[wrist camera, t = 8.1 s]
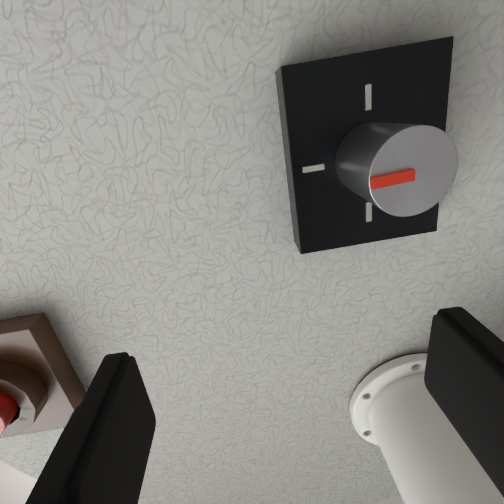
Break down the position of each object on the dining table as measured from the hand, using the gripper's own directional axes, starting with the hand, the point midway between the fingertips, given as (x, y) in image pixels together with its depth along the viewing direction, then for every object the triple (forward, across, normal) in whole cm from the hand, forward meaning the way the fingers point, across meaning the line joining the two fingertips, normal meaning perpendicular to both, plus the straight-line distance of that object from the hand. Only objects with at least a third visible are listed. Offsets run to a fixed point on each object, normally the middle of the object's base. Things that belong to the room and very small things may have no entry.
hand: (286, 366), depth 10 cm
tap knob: (+13, -8, -4) cm, 16 cm away
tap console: (+16, -8, -4) cm, 18 cm away
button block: (+16, +23, +12) cm, 30 cm away
